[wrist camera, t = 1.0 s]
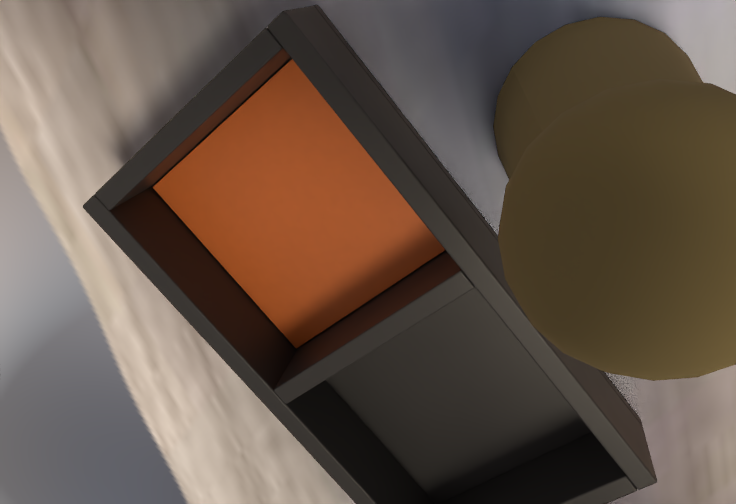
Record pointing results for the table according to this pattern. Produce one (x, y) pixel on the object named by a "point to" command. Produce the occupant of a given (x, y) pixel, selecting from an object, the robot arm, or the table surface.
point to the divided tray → (362, 288)
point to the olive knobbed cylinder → (620, 200)
